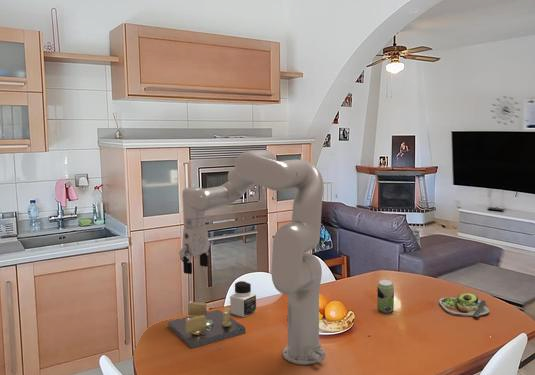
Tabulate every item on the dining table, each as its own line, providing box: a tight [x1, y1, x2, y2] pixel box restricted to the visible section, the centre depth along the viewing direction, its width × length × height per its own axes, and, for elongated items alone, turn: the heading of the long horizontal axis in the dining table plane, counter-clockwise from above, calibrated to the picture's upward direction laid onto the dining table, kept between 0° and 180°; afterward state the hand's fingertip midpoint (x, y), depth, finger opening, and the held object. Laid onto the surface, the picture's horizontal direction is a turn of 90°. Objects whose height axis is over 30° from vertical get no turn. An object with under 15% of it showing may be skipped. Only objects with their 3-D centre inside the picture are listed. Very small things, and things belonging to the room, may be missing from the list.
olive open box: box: [187, 300, 208, 317], centre depth 166 cm, size 3×6×6 cm, turn 72°
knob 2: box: [222, 306, 231, 327], centre depth 159 cm, size 3×6×6 cm, turn 1°
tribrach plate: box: [167, 309, 246, 349], centre depth 160 cm, size 20×20×4 cm
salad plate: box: [438, 292, 490, 318], centre depth 175 cm, size 19×18×5 cm
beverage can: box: [376, 279, 395, 314], centre depth 174 cm, size 6×7×12 cm
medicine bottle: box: [229, 280, 257, 318], centre depth 175 cm, size 7×7×12 cm
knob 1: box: [186, 315, 206, 335], centre depth 152 cm, size 3×6×6 cm, turn 123°
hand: (196, 269), depth 164 cm, fingers open, 9 cm apart
